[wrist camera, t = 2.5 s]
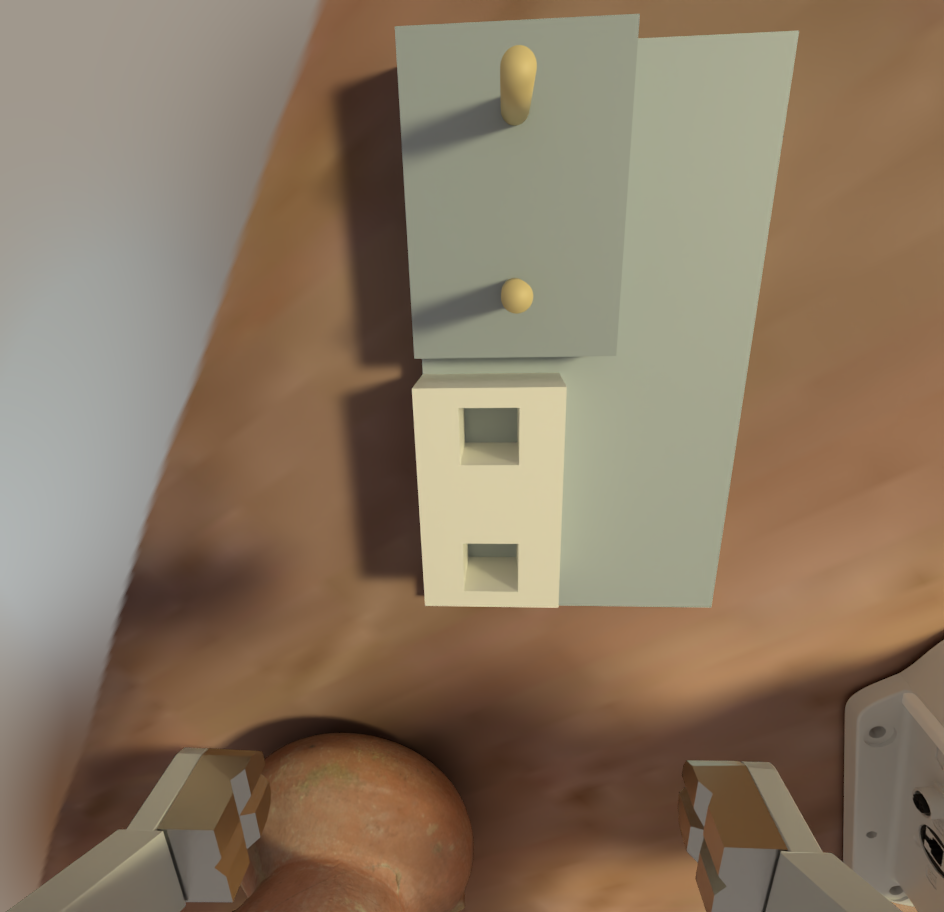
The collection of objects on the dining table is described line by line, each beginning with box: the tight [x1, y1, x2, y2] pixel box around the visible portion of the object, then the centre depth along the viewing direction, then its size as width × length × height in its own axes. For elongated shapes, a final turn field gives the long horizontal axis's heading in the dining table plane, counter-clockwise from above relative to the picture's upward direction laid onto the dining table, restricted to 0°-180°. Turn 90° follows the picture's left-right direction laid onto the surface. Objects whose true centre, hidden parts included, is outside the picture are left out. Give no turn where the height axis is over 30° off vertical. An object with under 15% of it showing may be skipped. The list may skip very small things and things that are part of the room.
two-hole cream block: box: [412, 373, 567, 608], centre depth 24 cm, size 10×6×3 cm, turn 1°
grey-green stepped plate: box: [395, 14, 799, 608], centre depth 21 cm, size 24×14×7 cm, turn 1°
